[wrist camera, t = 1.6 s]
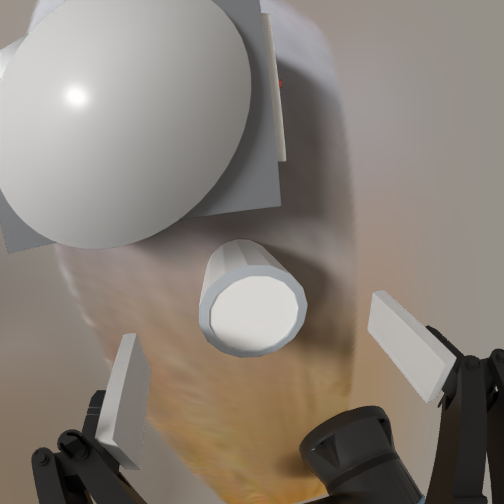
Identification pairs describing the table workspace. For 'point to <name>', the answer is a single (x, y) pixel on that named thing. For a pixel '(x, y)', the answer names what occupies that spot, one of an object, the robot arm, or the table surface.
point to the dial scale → (137, 120)
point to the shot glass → (249, 301)
